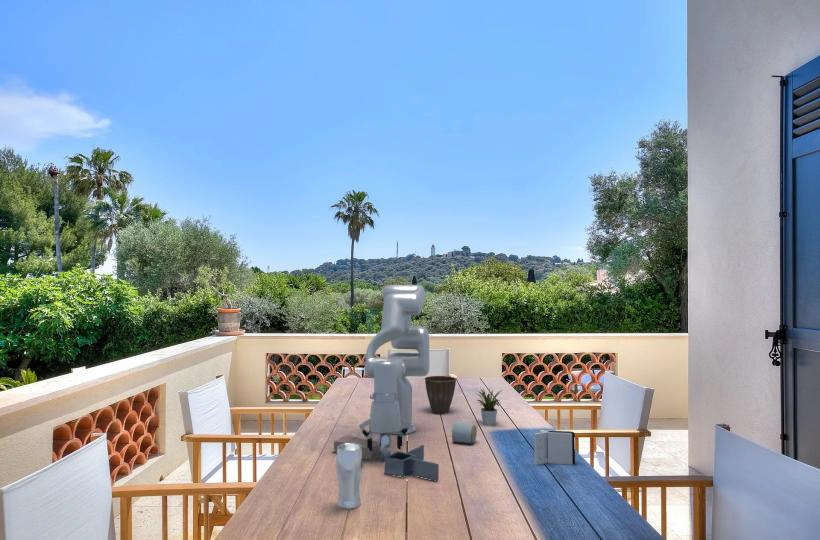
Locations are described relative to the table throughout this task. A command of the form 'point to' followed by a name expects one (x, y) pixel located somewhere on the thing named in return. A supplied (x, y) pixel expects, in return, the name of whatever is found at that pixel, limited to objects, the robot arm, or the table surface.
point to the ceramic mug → (464, 432)
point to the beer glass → (349, 474)
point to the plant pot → (440, 392)
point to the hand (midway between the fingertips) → (384, 449)
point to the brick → (365, 451)
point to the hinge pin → (384, 446)
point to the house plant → (488, 408)
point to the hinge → (554, 447)
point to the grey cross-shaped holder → (411, 464)
